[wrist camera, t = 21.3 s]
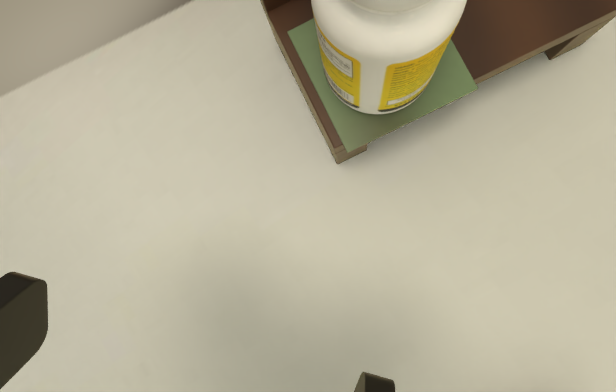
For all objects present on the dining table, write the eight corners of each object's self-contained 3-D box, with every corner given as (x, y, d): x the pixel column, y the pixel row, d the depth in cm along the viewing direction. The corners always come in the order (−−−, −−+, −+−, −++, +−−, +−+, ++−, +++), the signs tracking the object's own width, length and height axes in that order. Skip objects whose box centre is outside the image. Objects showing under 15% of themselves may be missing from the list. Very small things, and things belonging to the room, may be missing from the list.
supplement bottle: (444, 21, 21) (521, -157, 11) (419, 127, 21) (477, 35, 11) (337, 1, 22) (325, -183, 12) (311, 104, 22) (278, -2, 12)
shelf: (341, 171, 26) (336, 145, 18) (275, 39, 27) (244, -39, 20) (584, 52, 25) (690, -30, 18) (507, -79, 27) (572, -212, 19)
